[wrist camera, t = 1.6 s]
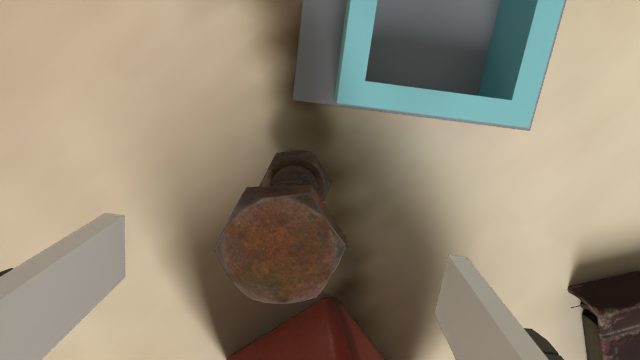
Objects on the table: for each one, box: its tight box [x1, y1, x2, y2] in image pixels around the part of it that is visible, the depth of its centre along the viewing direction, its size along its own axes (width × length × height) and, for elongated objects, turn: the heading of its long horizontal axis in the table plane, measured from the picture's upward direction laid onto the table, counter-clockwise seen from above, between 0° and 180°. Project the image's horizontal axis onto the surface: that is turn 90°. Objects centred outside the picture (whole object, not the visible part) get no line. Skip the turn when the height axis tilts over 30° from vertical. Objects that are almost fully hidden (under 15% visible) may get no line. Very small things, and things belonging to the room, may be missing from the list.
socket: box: [293, 0, 566, 131], centre depth 24 cm, size 18×13×6 cm
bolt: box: [214, 151, 347, 304], centre depth 23 cm, size 6×5×15 cm
